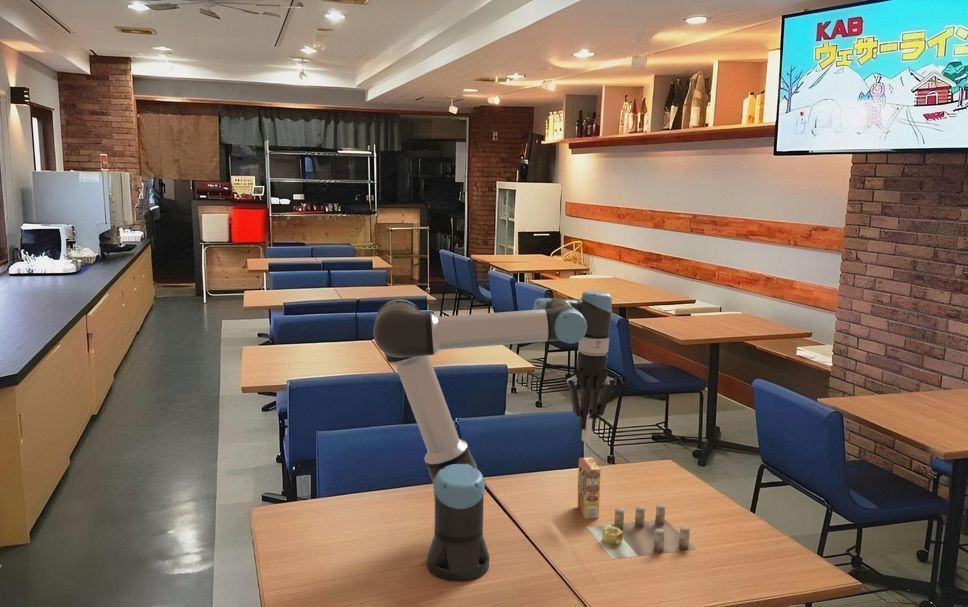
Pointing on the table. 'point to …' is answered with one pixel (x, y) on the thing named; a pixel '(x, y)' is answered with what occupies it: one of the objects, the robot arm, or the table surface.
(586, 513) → the candy box
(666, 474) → the table surface
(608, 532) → the wooden star polyhedron
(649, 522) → the board
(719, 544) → the table surface
